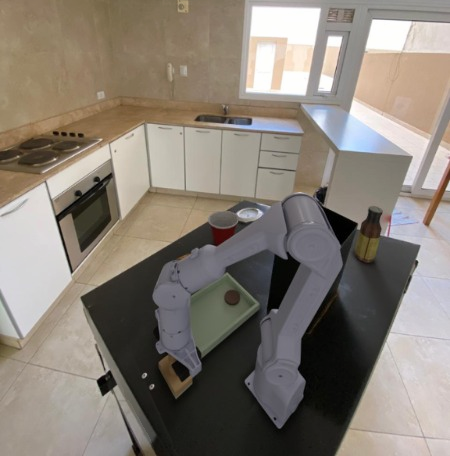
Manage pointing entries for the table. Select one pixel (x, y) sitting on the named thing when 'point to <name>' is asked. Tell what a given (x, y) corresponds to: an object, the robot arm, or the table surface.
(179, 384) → the wooden stamp
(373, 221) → the sauce bottle
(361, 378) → the table surface
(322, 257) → the robot arm
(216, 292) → the tray
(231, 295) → the grime patch
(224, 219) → the plastic cup
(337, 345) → the table surface
